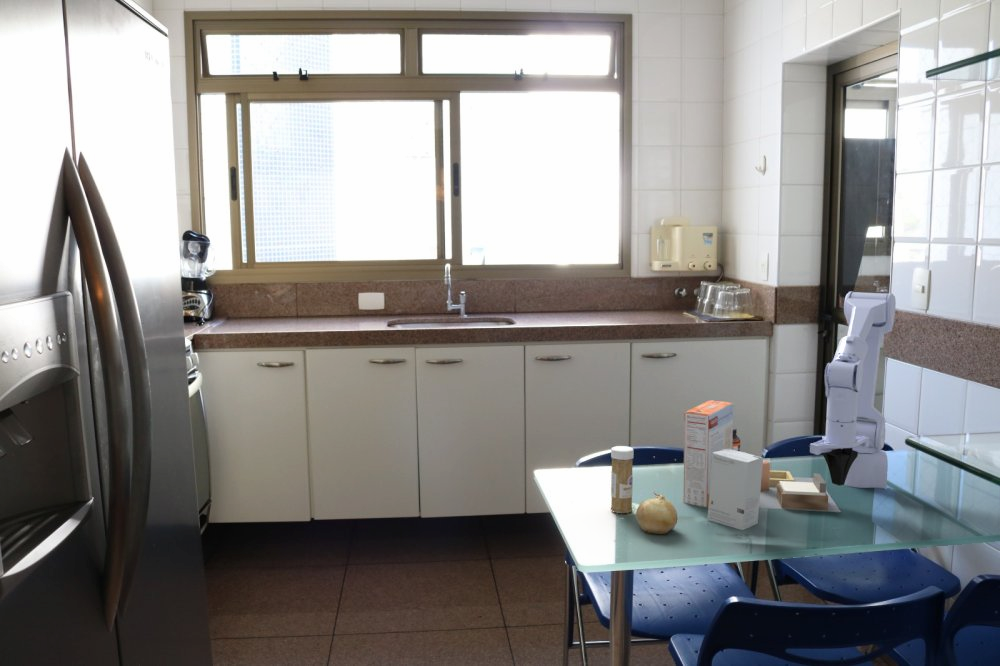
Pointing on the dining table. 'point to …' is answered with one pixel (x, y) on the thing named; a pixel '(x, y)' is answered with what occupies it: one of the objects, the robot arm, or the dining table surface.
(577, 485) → the dining table surface
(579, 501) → the dining table surface
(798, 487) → the lid
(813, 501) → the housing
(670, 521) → the onion
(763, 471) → the dowel pin
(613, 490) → the sprinkles bottle
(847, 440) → the robot arm
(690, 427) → the cracker box
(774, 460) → the dining table surface
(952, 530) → the dining table surface
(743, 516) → the skincare box
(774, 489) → the board
